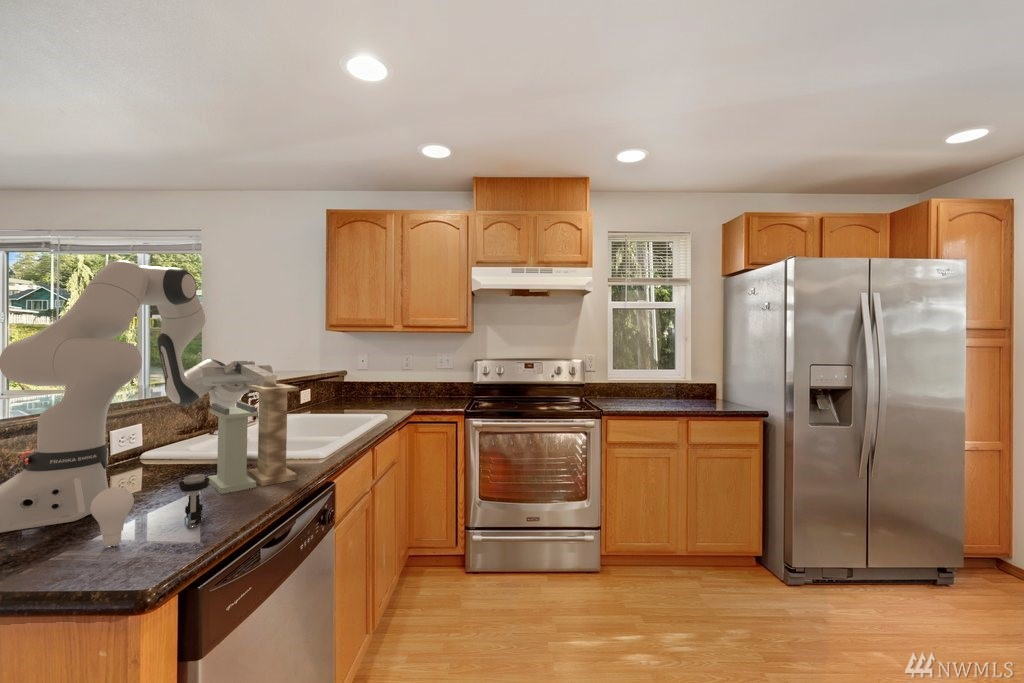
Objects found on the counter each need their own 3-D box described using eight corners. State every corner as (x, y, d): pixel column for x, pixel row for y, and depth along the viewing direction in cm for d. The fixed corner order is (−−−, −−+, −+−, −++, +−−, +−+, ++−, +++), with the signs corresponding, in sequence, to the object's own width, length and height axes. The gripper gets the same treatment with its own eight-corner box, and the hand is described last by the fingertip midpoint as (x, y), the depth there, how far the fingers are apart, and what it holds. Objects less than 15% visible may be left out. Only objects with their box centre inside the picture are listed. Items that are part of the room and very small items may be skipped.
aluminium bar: (263, 386, 128) (263, 376, 127) (233, 370, 144) (234, 361, 144) (276, 385, 130) (276, 375, 130) (245, 370, 147) (246, 360, 147)
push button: (207, 527, 93) (208, 479, 93) (175, 533, 91) (176, 483, 91) (209, 517, 99) (210, 471, 99) (179, 521, 96) (180, 474, 97)
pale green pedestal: (221, 494, 114) (222, 409, 114) (208, 481, 124) (209, 403, 124) (256, 487, 120) (257, 406, 120) (240, 476, 130) (242, 401, 130)
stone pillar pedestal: (262, 486, 121) (263, 389, 121) (246, 474, 131) (248, 385, 131) (297, 479, 127) (298, 387, 127) (279, 469, 137) (281, 383, 137)
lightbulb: (114, 538, 88) (115, 482, 88) (141, 541, 87) (142, 483, 87) (80, 552, 82) (81, 492, 82) (109, 555, 81) (110, 494, 81)
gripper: (194, 375, 145) (203, 354, 137) (264, 373, 160) (275, 354, 152) (196, 393, 143) (205, 373, 135) (266, 389, 158) (278, 371, 149)
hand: (243, 363), depth 143 cm, fingers closed on aluminium bar, 4 cm apart
